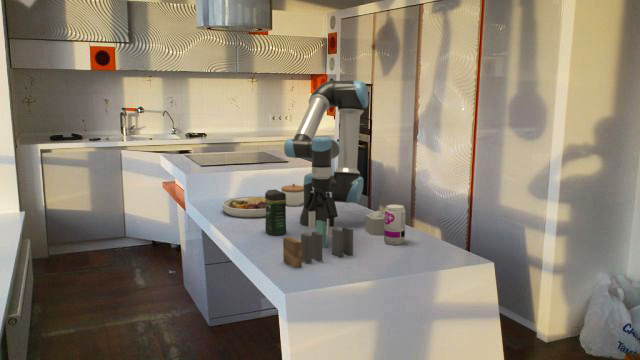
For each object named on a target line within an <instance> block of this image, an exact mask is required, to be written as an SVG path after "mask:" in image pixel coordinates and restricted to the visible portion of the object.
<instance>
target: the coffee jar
mask: <svg viewBox="0 0 640 360" xmlns="http://www.w3.org/2000/svg"><path fill="white" fill-rule="evenodd" d="M264 195H265V196H264V197H265V202H266V217H265V229H264V231H265V232H266V233H267V234H269V235H271V236H281V235H284V234H286V233H287V216H286V215H287V211H286V209H287V207H286V206H287V204H286V194H285V193H283V192H282V191H280V190H278V189H267V191H266V192H265V193H264Z"/></svg>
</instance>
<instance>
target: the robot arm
mask: <svg viewBox="0 0 640 360" xmlns="http://www.w3.org/2000/svg"><path fill="white" fill-rule="evenodd" d="M368 106H369V92H368V87H367V84H366V82H364V81H361V80H329V81H326V82H324V83H322V84H320V85H319V86H318V87H317V88H316V89H314V91H313V92H312V93H311V95H310V97H309V99H308V106H307V109H306V111H305V113H304V115H303V118H302V119H301V122H300V125H299V126H298V129H297V131H296V133H295V135H294V137H293V138H289V139H286V140H285V142H284V144H283V145H284V146H283V151H284V155H285V157H287V158H295V159H311V173H307V174H305V175H304V177H303V184H302V186H304V201H303V207H302V210H301V214H300V217H299V223H300V224H301V225H302V226H307V227H308V228H309V229H310V228H316V220H321V221H324V222H326V236H332V229H333V228H335V219H336V218H338V217H339V214H338V210H337V206H336V203H348V204H349V203H352V204H353V203H358V202H359V201H360V199H361V197H362V194H363V191H364V182H365V181H364V178H363V177H362V176H361V172H360V171H359V170H358V156H359V136H360V123H361V115H362V114H363V113H364V111H365V109H366V108H368ZM331 107H332V108H333V107H335V108H337V111H338V112H339V114H340V123H339V140H338V141H339V142H338V141H336V140H334V139H331V138H330V137H326V136H325V137H324V136H321V137H315V135H316V133H317V131H318V128H319V127H320V124H321V122H322V119H323V117H324V115H325V113H326V112H328V110H329V109H330V108H331ZM337 157H338V159H337V168H336V169H335V170H334V172H333V175H332V160H334V159H335V158H337Z"/></svg>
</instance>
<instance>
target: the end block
mask: <svg viewBox="0 0 640 360" xmlns="http://www.w3.org/2000/svg"><path fill="white" fill-rule="evenodd" d="M282 241H283V244H282V246H283V248H282V249H283V262H284V263H285V264H287V265H288V266H290V267H292V268H300V267H303V264H302V263H303V261H302V242H301V240H299V239H297V238H295V237H293V236H286V237H283V240H282Z"/></svg>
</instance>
